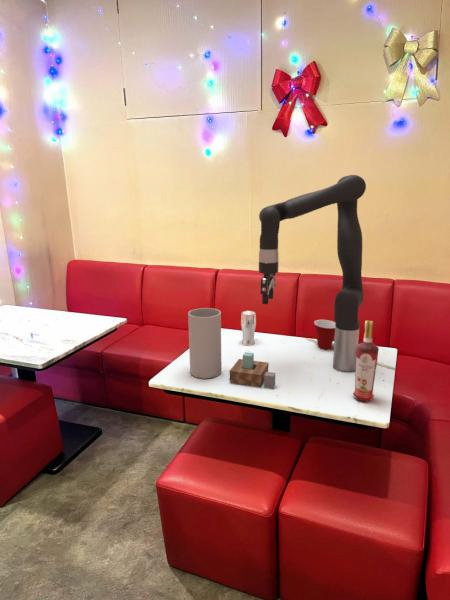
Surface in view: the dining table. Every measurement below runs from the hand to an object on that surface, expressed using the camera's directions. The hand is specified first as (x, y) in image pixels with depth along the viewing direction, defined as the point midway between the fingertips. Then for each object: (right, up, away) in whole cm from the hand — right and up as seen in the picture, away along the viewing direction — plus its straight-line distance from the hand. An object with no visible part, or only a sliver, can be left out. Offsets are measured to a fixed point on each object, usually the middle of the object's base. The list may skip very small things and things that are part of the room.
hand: (267, 301), depth 167 cm
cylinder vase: (-24, -29, +3) cm, 38 cm away
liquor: (+31, -34, -18) cm, 50 cm away
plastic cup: (+29, -22, +28) cm, 46 cm away
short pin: (0, -32, -9) cm, 33 cm away
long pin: (-8, -30, -2) cm, 31 cm away
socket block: (-7, -30, -2) cm, 31 cm away
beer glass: (-6, -20, +35) cm, 41 cm away
